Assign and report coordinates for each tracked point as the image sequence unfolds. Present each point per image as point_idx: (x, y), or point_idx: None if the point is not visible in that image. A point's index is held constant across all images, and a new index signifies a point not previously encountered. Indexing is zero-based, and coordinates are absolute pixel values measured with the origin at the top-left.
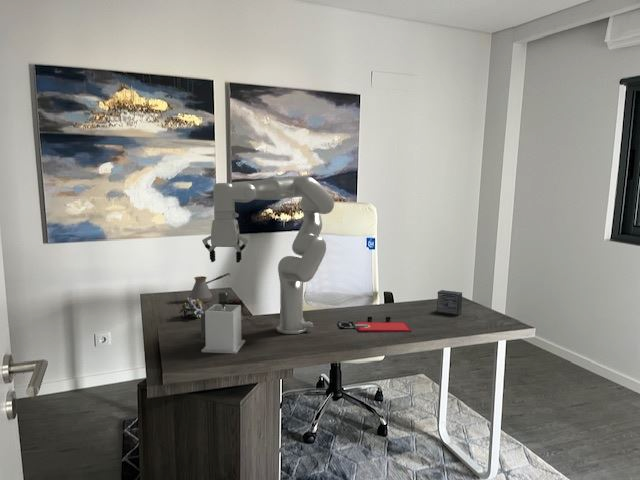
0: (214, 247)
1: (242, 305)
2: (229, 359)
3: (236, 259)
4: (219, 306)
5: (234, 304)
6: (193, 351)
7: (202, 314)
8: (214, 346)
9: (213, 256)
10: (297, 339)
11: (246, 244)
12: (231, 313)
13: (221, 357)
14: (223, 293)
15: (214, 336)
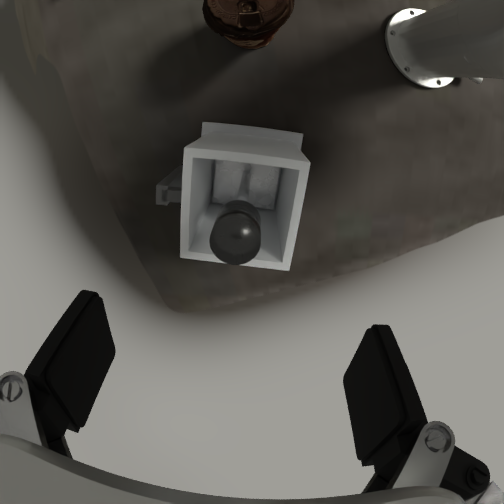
0: (37, 433)
1: (290, 14)
2: None
3: (348, 401)
4: (211, 158)
5: (257, 29)
6: (175, 207)
7: (162, 204)
8: None
9: (92, 378)
10: (435, 129)
11: (488, 488)
12: (281, 267)
13: None
14: (238, 253)
15: None
